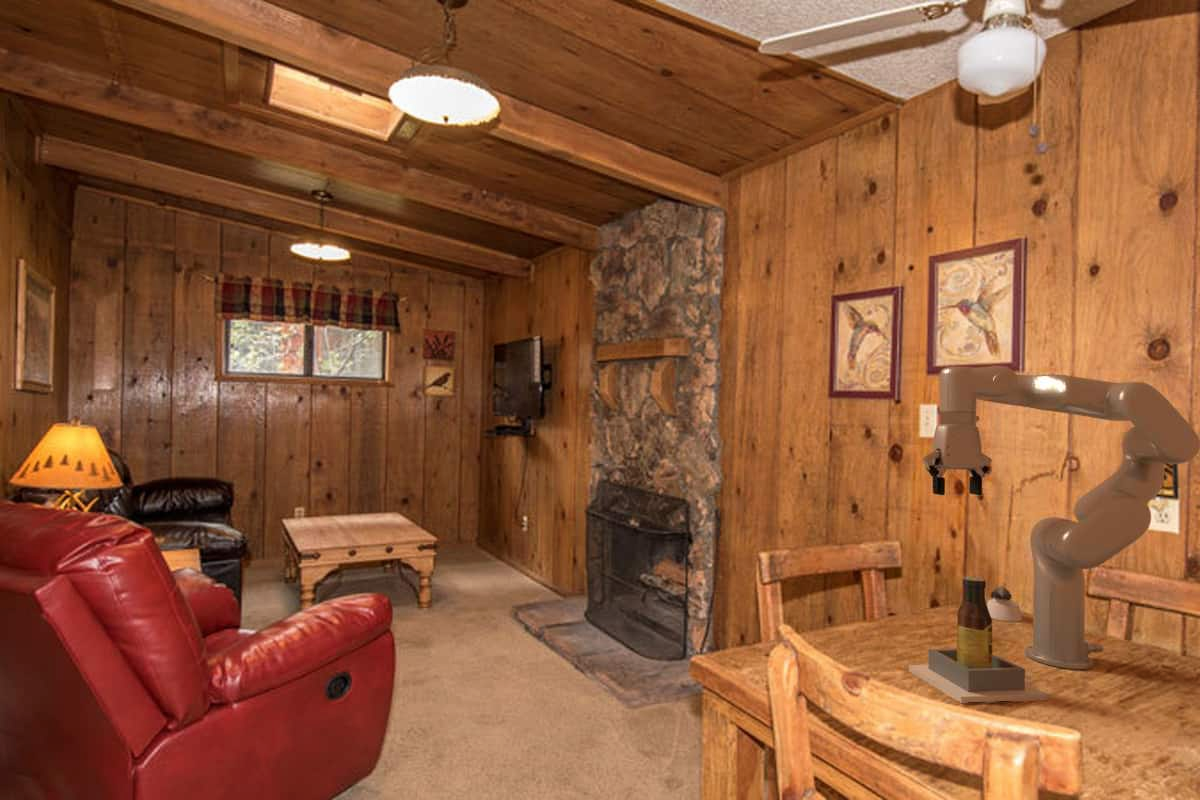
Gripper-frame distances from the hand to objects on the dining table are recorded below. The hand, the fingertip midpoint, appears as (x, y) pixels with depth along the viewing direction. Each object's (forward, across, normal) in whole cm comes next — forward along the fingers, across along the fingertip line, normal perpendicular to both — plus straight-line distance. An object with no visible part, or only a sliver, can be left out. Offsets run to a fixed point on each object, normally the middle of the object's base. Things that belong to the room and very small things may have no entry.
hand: (957, 494), depth 155 cm
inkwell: (+36, -31, -21) cm, 52 cm away
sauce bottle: (+35, +10, +18) cm, 41 cm away
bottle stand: (+36, +10, +18) cm, 41 cm away
